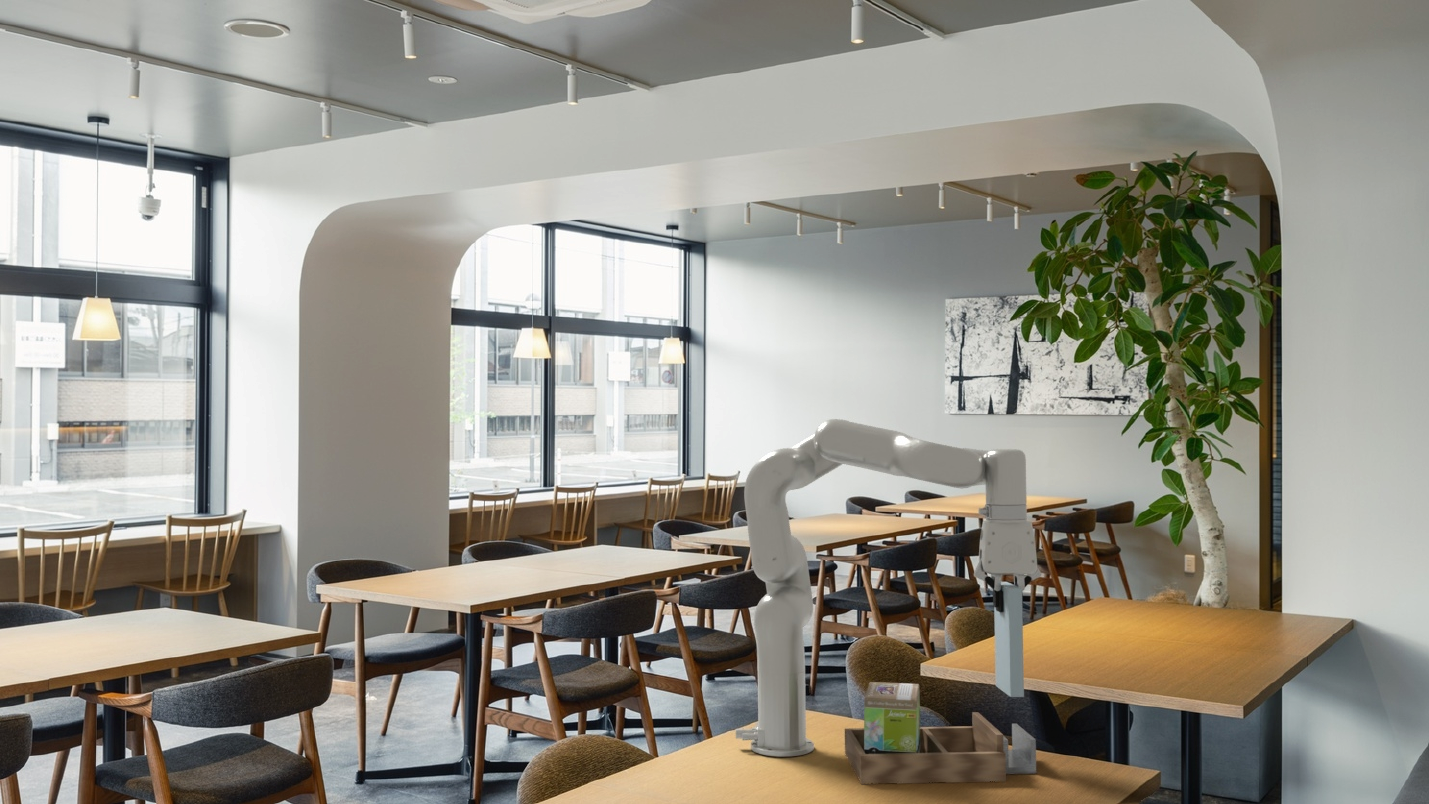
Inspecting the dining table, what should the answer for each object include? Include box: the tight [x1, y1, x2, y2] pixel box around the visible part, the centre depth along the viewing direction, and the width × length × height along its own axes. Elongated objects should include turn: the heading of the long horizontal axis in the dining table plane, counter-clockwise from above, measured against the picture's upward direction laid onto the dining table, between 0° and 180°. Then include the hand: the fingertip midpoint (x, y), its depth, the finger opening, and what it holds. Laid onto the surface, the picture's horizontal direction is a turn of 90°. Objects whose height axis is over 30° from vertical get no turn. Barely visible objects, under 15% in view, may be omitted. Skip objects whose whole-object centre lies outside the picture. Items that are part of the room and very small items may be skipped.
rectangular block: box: [993, 581, 1025, 698], centre depth 219 cm, size 2×10×20 cm, turn 2°
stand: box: [1003, 723, 1037, 775], centre depth 218 cm, size 6×12×6 cm, turn 2°
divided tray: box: [844, 711, 1007, 785], centre depth 217 cm, size 26×20×8 cm
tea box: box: [863, 681, 921, 754], centre depth 217 cm, size 15×10×15 cm
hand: (1008, 610), depth 219 cm, fingers closed on rectangular block, 2 cm apart
